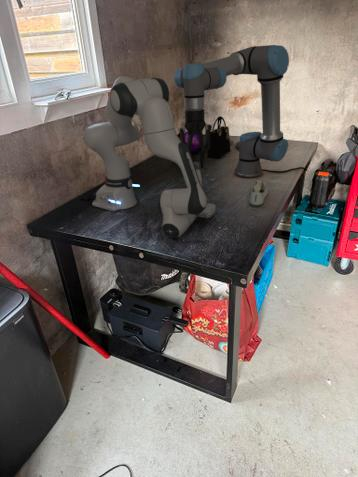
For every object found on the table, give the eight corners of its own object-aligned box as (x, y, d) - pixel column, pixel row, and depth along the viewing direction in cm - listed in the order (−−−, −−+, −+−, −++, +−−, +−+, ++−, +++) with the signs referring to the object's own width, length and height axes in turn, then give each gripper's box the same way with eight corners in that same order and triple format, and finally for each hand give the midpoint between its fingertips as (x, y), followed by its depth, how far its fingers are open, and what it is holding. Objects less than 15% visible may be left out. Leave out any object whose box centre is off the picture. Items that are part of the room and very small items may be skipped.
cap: (197, 170, 135) (197, 165, 134) (189, 168, 137) (189, 163, 136) (203, 167, 138) (203, 162, 137) (194, 166, 140) (194, 161, 139)
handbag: (218, 159, 217) (218, 119, 204) (206, 157, 221) (205, 119, 209) (231, 151, 232) (232, 114, 219) (219, 150, 236) (220, 113, 224)
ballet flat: (269, 188, 169) (270, 173, 165) (265, 208, 149) (266, 191, 145) (252, 187, 171) (253, 172, 167) (246, 206, 151) (247, 190, 147)
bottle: (199, 210, 151) (198, 162, 139) (204, 214, 147) (203, 164, 136) (191, 212, 149) (189, 163, 138) (195, 216, 146) (193, 166, 134)
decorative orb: (204, 151, 235) (204, 129, 228) (194, 156, 225) (193, 134, 217) (186, 149, 243) (186, 128, 235) (175, 154, 232) (174, 132, 224)
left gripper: (210, 209, 130) (220, 196, 141) (163, 203, 137) (176, 191, 148) (210, 223, 133) (220, 209, 144) (164, 217, 140) (177, 204, 151)
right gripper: (211, 105, 131) (211, 163, 143) (170, 110, 127) (174, 168, 139) (219, 108, 125) (218, 168, 136) (176, 112, 121) (179, 174, 133)
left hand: (197, 200), depth 146 cm, fingers closed on bottle, 4 cm apart
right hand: (196, 168), depth 138 cm, fingers closed on cap, 4 cm apart
